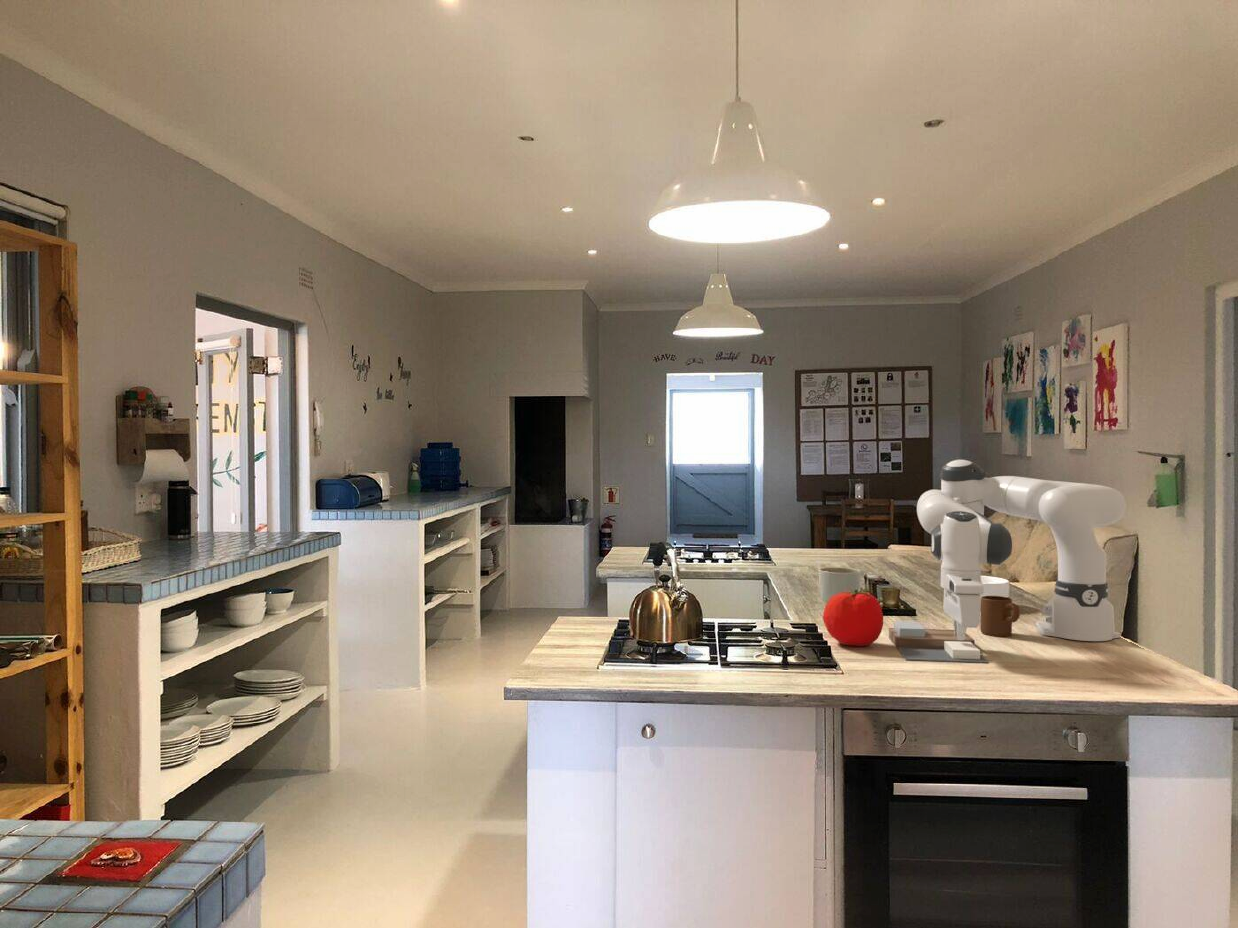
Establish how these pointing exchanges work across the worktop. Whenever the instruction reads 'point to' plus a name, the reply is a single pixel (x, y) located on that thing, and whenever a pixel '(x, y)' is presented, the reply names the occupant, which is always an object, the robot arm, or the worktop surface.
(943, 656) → the mat
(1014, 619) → the mug
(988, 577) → the bowl
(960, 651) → the ivory block
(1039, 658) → the worktop surface
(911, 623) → the light gray block
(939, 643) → the brown wooden flat board
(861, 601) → the tomato
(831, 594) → the planter
